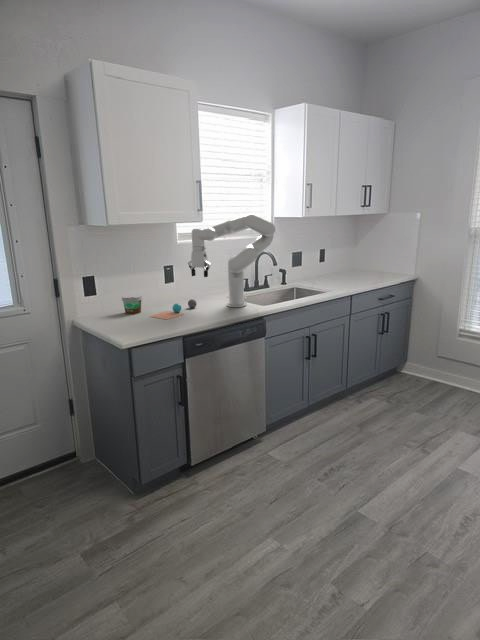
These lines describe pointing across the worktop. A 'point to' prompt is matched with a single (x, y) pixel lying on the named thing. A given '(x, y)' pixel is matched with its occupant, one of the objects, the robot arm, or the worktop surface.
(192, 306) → the grey ball
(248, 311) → the worktop surface
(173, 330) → the worktop surface
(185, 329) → the worktop surface
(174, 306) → the object ball
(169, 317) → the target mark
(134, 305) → the food container
